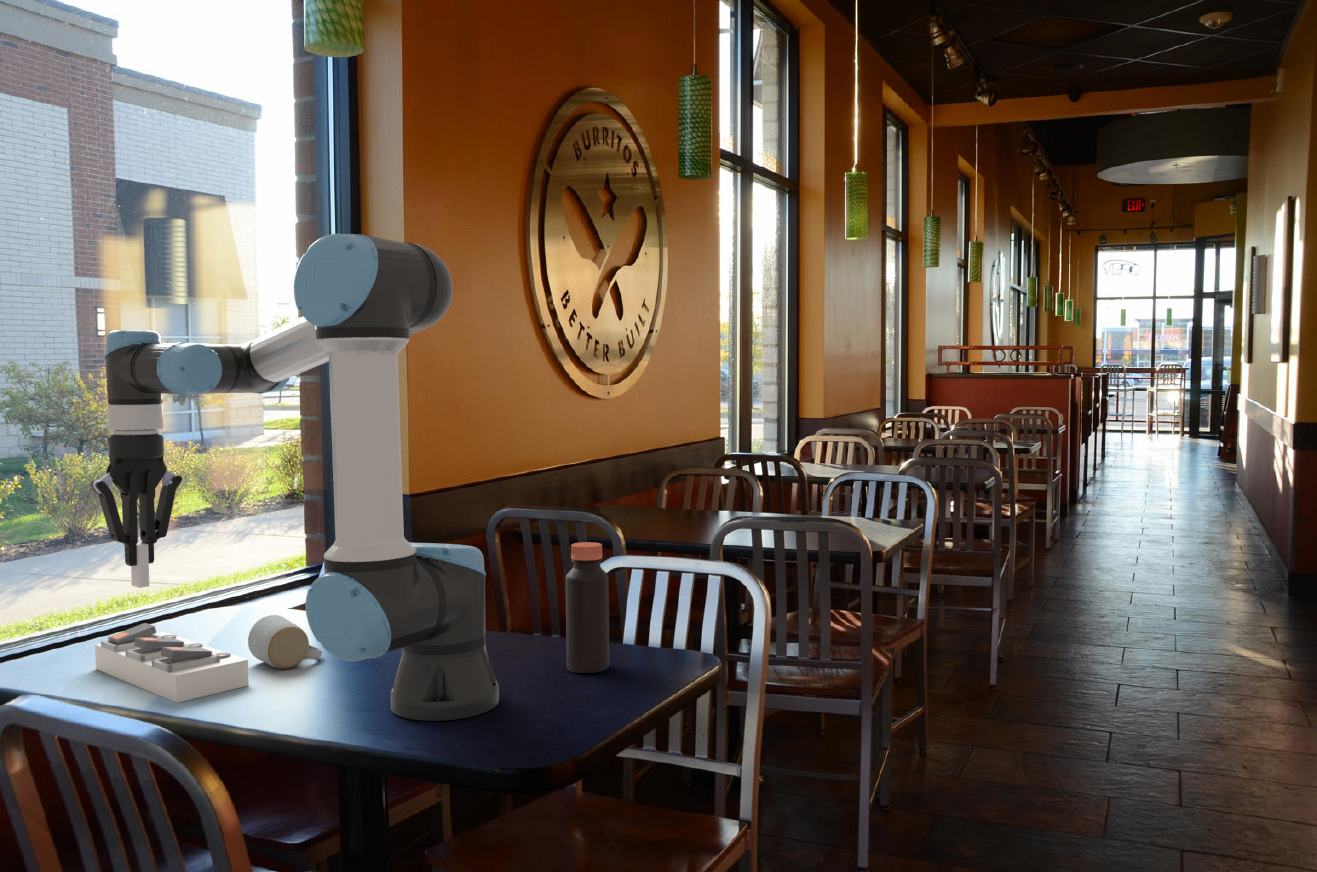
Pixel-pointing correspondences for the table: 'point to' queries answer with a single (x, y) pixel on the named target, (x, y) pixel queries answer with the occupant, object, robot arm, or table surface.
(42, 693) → the table surface
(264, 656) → the ceramic mug
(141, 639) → the rocker middle
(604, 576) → the bottle
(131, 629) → the rocker
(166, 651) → the rocker
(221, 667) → the white rocker switch box
